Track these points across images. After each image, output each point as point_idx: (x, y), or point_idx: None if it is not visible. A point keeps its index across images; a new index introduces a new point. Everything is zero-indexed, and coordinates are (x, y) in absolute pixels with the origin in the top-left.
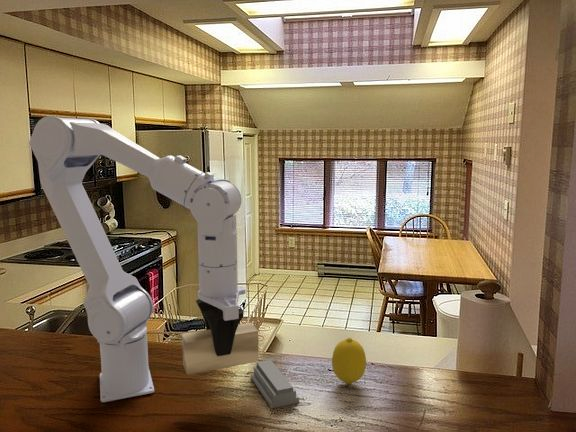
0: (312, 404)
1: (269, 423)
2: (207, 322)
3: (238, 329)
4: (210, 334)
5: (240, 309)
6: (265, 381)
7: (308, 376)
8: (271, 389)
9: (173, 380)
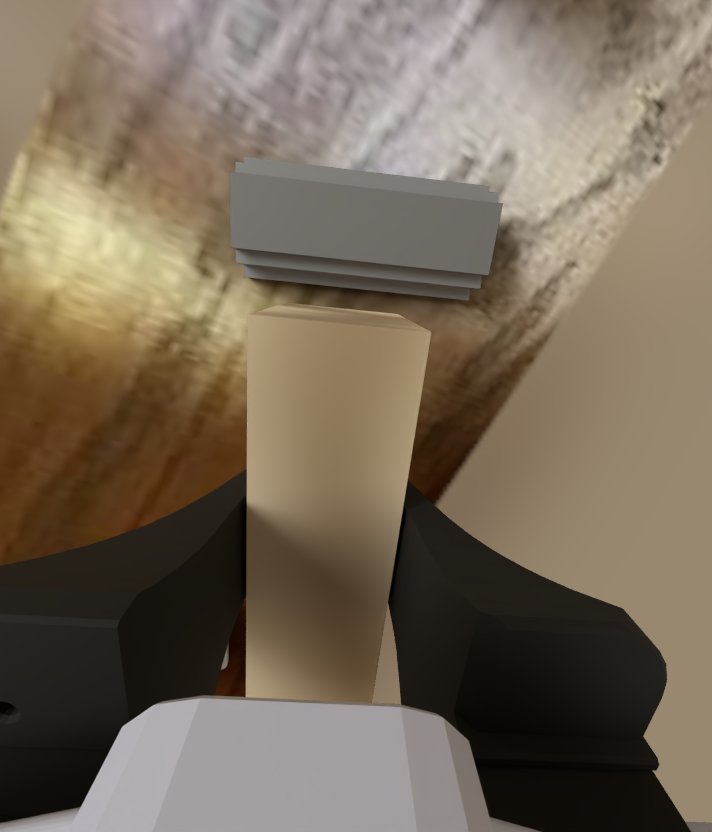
0: (520, 149)
1: (526, 340)
2: (226, 643)
3: (332, 448)
4: (326, 610)
5: (545, 643)
6: (372, 273)
7: (331, 30)
8: (438, 280)
9: (168, 505)
